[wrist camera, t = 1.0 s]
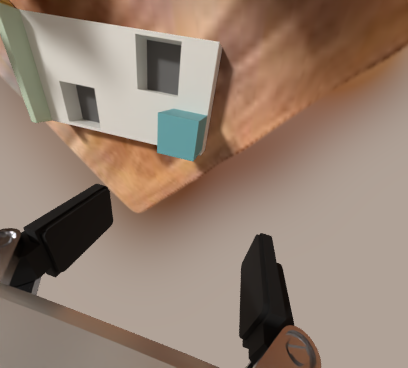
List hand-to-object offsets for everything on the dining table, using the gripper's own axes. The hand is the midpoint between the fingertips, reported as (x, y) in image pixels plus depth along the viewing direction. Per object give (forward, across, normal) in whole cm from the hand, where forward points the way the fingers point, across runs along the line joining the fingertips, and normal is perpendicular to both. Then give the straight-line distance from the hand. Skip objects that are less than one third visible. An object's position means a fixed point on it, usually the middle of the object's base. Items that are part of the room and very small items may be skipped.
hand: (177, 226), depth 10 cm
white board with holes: (+20, +17, -5) cm, 26 cm away
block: (+17, +5, -2) cm, 18 cm away
